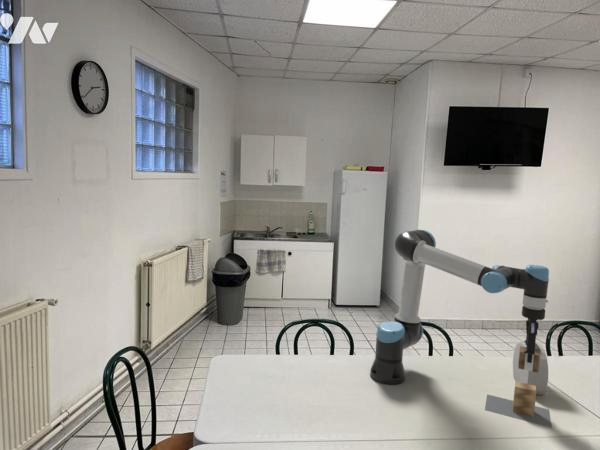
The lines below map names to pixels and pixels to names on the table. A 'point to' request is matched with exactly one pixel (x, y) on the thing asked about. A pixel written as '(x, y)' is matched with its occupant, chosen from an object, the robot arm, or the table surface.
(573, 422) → the table surface
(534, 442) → the table surface
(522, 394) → the oak block upper
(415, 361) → the table surface
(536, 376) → the alarm clock
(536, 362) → the walnut cube
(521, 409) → the oak block lower
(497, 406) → the slate mat
